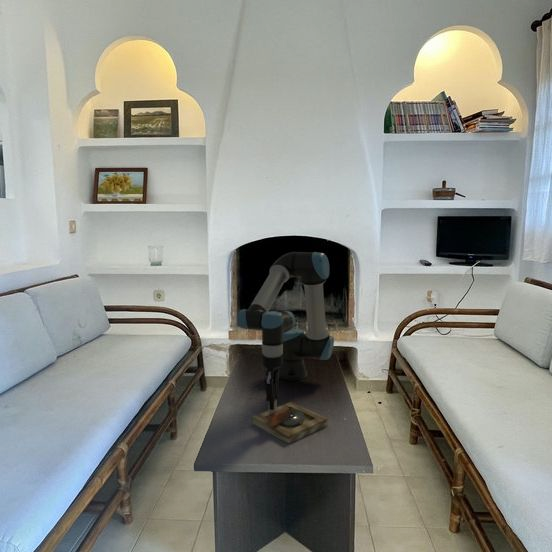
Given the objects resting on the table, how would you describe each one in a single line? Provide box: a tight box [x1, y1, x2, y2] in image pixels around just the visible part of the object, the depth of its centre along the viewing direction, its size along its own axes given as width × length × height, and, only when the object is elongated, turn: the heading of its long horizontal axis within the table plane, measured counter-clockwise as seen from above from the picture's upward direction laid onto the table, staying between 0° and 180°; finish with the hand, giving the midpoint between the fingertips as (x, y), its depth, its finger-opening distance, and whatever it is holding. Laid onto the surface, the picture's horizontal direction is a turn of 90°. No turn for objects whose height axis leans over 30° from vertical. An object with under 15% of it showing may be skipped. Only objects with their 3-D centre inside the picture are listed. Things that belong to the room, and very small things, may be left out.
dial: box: [268, 407, 305, 427], centre depth 154 cm, size 16×11×5 cm, turn 138°
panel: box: [252, 401, 329, 444], centre depth 157 cm, size 20×20×3 cm
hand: (272, 416), depth 153 cm, fingers closed
